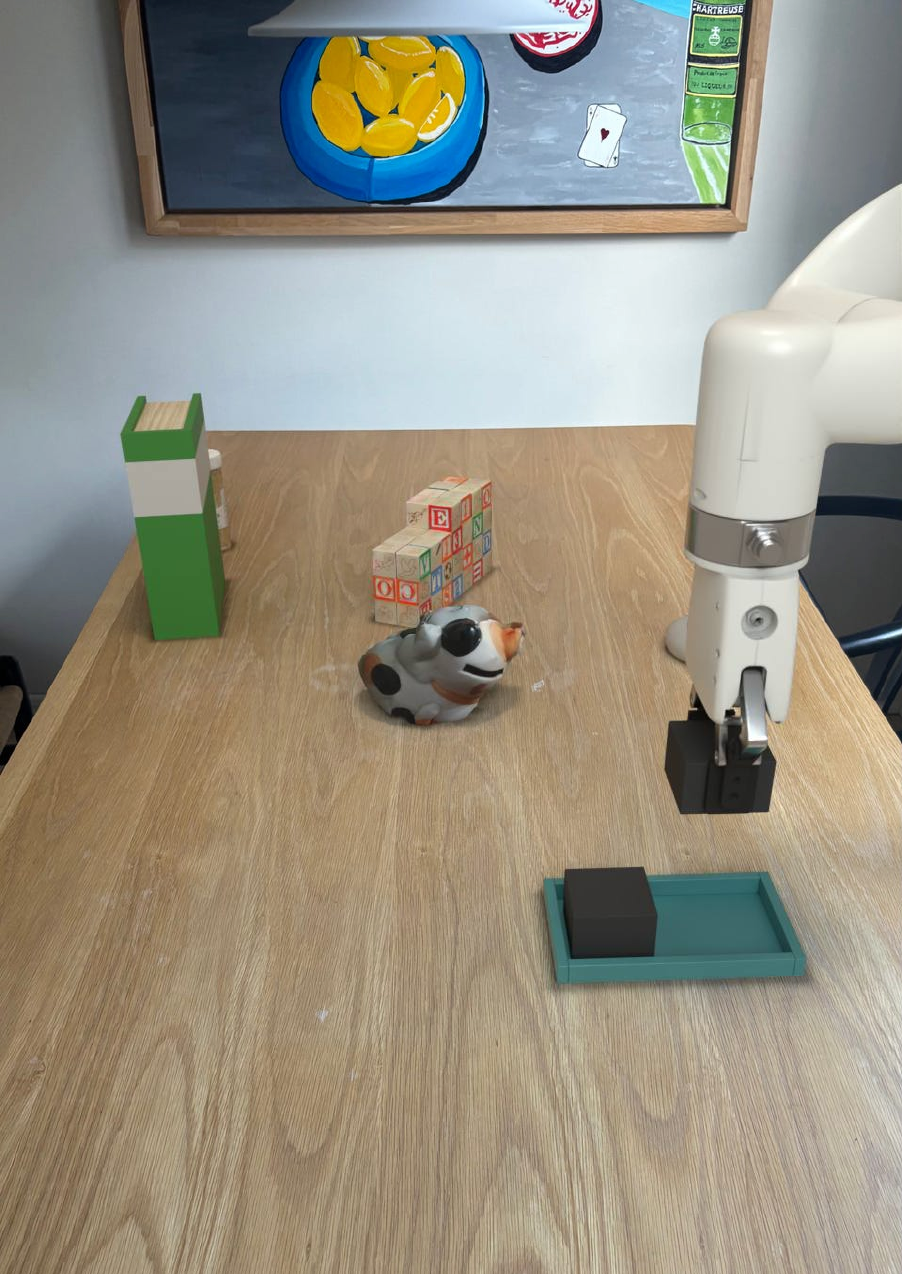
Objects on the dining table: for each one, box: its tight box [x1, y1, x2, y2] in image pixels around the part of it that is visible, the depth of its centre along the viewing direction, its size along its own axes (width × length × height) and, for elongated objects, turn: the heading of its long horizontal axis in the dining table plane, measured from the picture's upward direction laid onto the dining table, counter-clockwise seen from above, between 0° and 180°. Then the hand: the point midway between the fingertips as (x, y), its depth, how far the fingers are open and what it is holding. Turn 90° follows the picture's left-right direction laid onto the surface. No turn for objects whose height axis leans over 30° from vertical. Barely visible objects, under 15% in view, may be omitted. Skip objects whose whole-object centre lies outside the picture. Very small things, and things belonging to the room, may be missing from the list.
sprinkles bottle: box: [208, 448, 232, 552], centre depth 158 cm, size 5×5×14 cm
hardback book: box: [120, 392, 226, 641], centre depth 136 cm, size 18×7×24 cm, turn 7°
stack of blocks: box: [371, 475, 493, 629], centre depth 142 cm, size 21×6×12 cm, turn 155°
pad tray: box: [542, 871, 808, 984], centre depth 86 cm, size 18×11×2 cm, turn 91°
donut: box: [664, 614, 688, 663], centre depth 128 cm, size 10×4×10 cm
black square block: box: [663, 719, 778, 815], centre depth 79 cm, size 6×6×4 cm
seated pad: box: [563, 866, 658, 959], centre depth 85 cm, size 6×6×4 cm
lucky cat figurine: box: [357, 603, 527, 727], centre depth 116 cm, size 15×12×14 cm
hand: (716, 783), depth 79 cm, fingers closed on black square block, 6 cm apart
